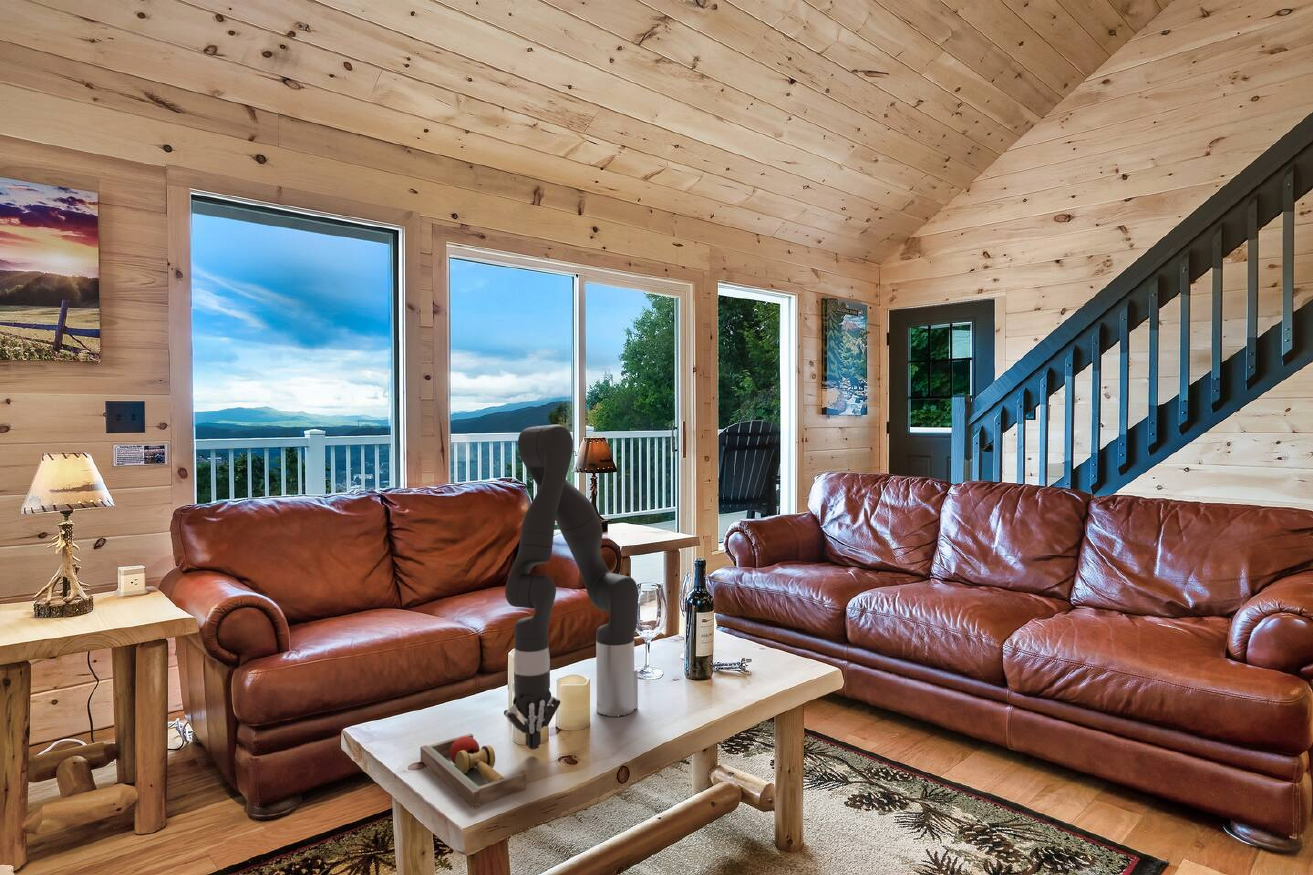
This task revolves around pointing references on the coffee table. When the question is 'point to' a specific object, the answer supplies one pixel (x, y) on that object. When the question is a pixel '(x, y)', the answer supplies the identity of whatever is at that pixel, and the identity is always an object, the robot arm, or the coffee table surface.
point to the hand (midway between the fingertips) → (533, 747)
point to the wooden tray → (462, 783)
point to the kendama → (474, 758)
